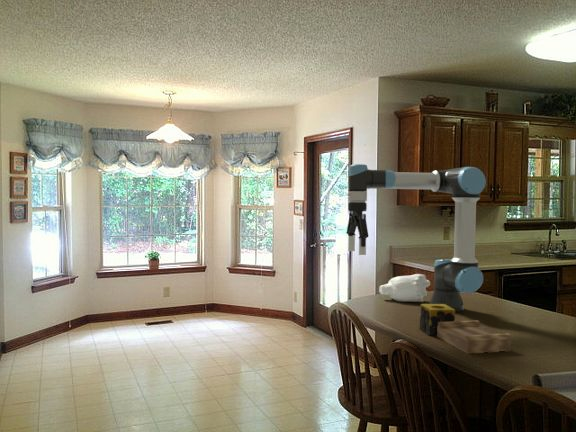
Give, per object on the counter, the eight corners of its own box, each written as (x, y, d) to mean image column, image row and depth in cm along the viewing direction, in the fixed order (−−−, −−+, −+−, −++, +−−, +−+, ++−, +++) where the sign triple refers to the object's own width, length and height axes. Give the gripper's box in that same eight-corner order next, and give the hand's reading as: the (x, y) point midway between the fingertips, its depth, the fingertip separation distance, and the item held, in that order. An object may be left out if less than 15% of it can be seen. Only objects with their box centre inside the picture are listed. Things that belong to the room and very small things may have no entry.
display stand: (476, 334, 185) (476, 320, 185) (510, 351, 166) (511, 334, 166) (437, 336, 182) (437, 321, 182) (467, 353, 163) (467, 336, 162)
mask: (381, 301, 257) (431, 301, 249) (377, 303, 243) (430, 302, 235) (380, 274, 258) (430, 273, 250) (376, 274, 245) (428, 273, 237)
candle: (418, 329, 193) (419, 303, 193) (444, 328, 194) (444, 303, 194) (428, 336, 183) (429, 309, 183) (455, 336, 184) (455, 309, 184)
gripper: (339, 201, 217) (339, 249, 217) (359, 202, 192) (358, 256, 193) (356, 201, 218) (355, 249, 219) (377, 202, 194) (376, 256, 194)
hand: (356, 253), depth 206 cm, fingers open, 13 cm apart
